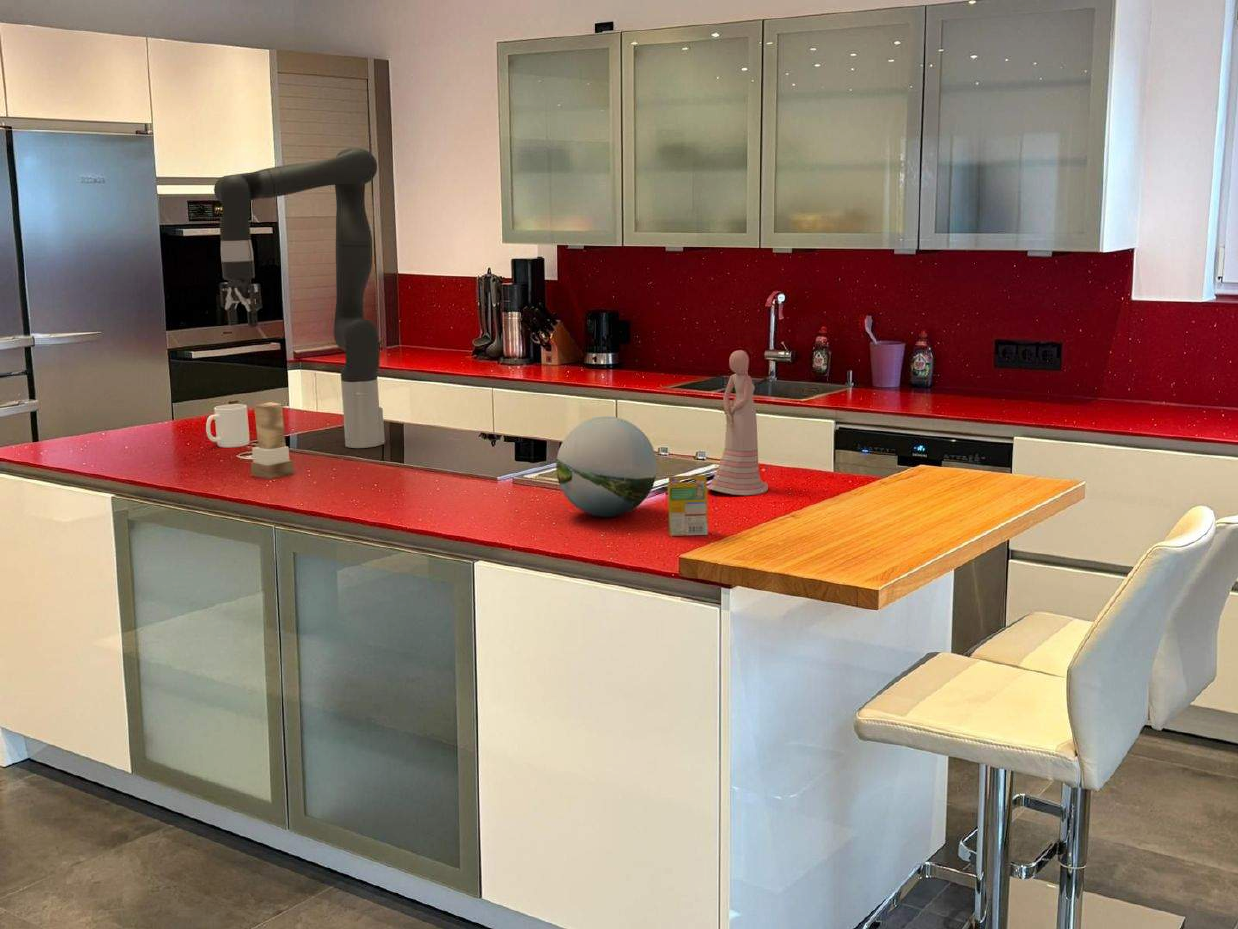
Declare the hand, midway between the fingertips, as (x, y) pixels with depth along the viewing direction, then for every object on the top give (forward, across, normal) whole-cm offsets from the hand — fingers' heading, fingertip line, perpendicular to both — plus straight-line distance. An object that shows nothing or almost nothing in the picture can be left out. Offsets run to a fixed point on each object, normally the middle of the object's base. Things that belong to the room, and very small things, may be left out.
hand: (243, 325), depth 332 cm
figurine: (+33, -120, -41) cm, 131 cm away
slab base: (+34, -21, +9) cm, 40 cm away
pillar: (+26, -21, +8) cm, 35 cm away
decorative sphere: (+33, -112, -8) cm, 117 cm away
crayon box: (+33, -134, -6) cm, 138 cm away
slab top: (+30, -21, +9) cm, 38 cm away
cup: (+33, +20, -6) cm, 39 cm away
